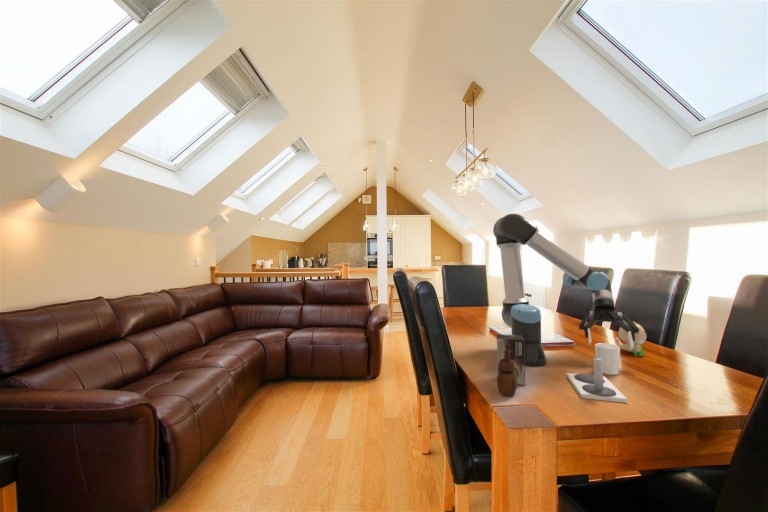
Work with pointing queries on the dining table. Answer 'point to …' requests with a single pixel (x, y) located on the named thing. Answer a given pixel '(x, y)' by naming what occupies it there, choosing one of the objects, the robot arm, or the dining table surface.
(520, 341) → the coffee box
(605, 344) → the white cup
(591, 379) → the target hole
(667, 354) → the dining table surface
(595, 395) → the board
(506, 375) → the wooden figurine
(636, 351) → the kitten
